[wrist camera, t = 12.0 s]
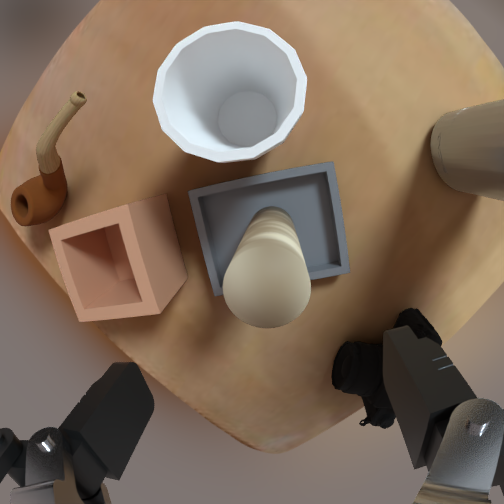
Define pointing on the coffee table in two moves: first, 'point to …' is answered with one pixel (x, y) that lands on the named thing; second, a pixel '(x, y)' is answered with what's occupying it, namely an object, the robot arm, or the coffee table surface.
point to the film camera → (374, 369)
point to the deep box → (121, 260)
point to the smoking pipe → (46, 173)
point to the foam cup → (230, 92)
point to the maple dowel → (268, 272)
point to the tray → (279, 195)
